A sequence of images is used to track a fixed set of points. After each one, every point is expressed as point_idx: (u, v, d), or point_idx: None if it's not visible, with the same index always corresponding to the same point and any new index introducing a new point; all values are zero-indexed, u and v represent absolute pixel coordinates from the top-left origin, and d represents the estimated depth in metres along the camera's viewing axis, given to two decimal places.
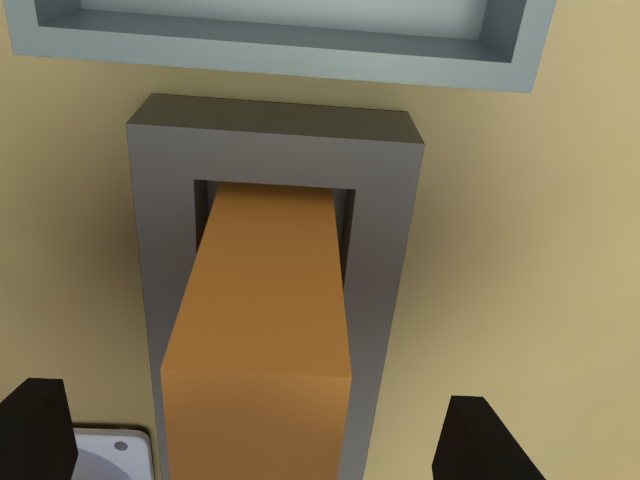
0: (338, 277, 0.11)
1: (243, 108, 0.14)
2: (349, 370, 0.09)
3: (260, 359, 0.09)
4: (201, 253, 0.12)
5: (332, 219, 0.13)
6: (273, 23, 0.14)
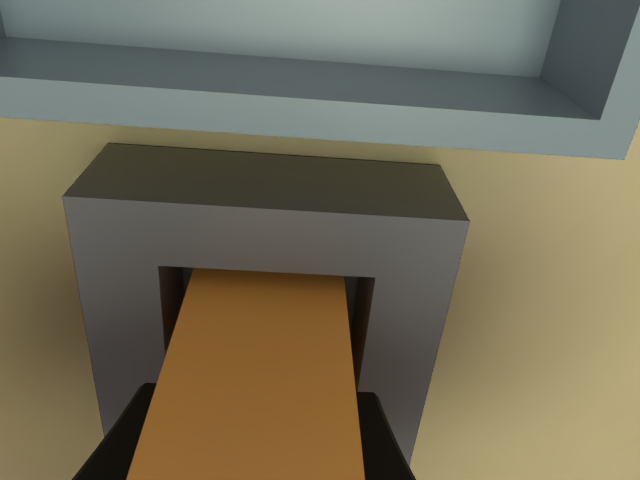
0: (355, 434, 0.08)
1: (226, 165, 0.11)
2: None
3: None
4: (160, 392, 0.08)
5: (344, 320, 0.10)
6: (265, 55, 0.10)
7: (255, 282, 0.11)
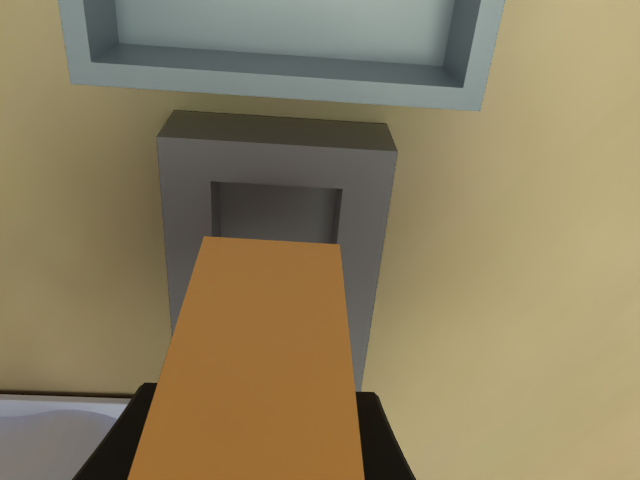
0: (355, 433, 0.08)
1: (250, 122, 0.17)
2: None
3: None
4: (161, 391, 0.08)
5: (343, 320, 0.10)
6: (274, 53, 0.17)
7: (255, 282, 0.11)
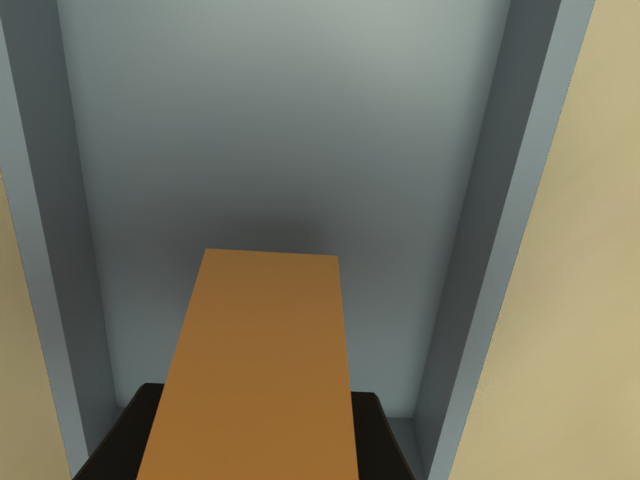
0: (351, 443, 0.08)
1: None
2: None
3: None
4: (165, 402, 0.09)
5: (341, 332, 0.10)
6: None
7: (255, 294, 0.11)
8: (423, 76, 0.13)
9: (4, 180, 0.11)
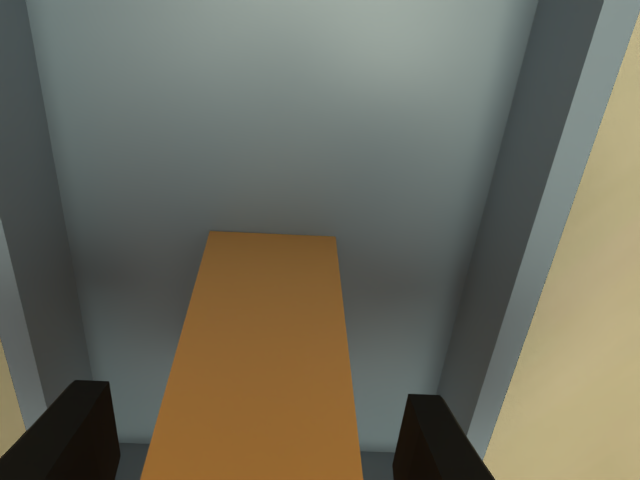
0: (350, 400, 0.09)
1: None
2: None
3: None
4: (176, 366, 0.09)
5: (340, 304, 0.11)
6: None
7: (258, 272, 0.12)
8: (437, 92, 0.12)
9: None
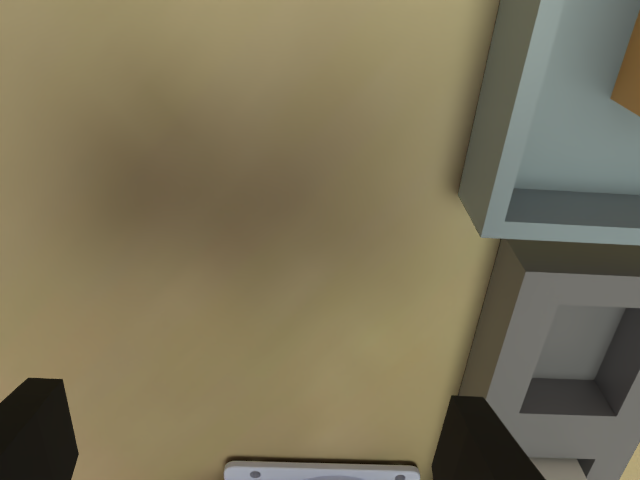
0: None
1: (577, 247, 0.20)
2: None
3: None
4: None
5: None
6: (612, 193, 0.19)
7: None
8: None
9: None
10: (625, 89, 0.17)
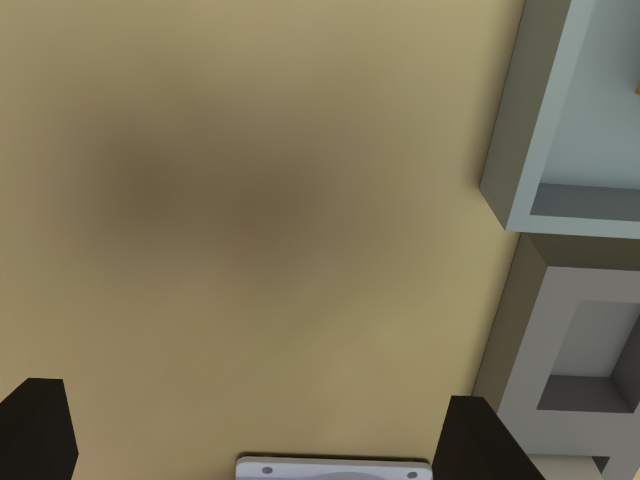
0: None
1: (597, 243, 0.20)
2: None
3: None
4: None
5: None
6: (634, 188, 0.19)
7: None
8: None
9: None
10: None
